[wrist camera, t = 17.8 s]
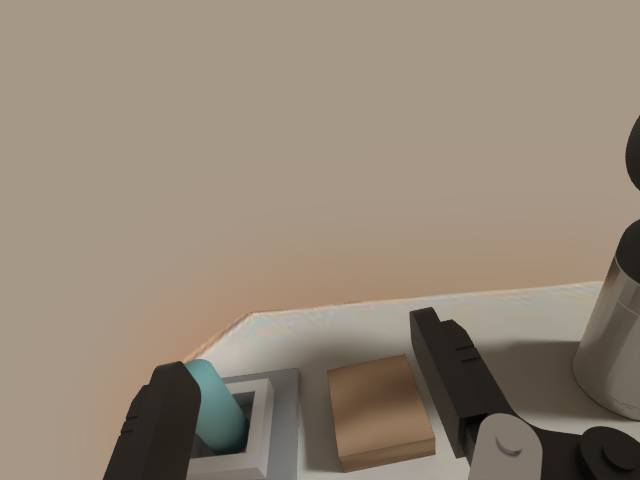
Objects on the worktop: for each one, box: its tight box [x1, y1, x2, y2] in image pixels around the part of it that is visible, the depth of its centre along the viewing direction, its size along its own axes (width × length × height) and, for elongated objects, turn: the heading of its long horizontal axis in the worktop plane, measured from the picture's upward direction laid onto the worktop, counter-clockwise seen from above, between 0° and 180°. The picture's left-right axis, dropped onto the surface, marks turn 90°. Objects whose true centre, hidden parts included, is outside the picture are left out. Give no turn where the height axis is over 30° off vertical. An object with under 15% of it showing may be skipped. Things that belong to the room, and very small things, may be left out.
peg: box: [184, 359, 250, 456], centre depth 37 cm, size 5×5×12 cm
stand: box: [327, 354, 435, 473], centre depth 39 cm, size 10×10×4 cm
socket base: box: [186, 368, 300, 480], centre depth 40 cm, size 16×16×4 cm
